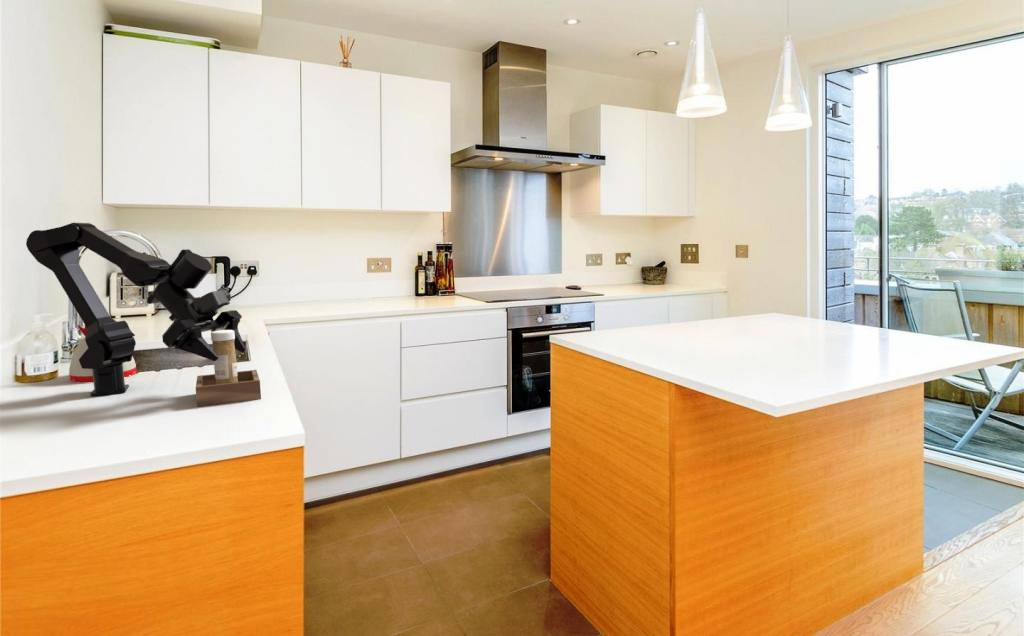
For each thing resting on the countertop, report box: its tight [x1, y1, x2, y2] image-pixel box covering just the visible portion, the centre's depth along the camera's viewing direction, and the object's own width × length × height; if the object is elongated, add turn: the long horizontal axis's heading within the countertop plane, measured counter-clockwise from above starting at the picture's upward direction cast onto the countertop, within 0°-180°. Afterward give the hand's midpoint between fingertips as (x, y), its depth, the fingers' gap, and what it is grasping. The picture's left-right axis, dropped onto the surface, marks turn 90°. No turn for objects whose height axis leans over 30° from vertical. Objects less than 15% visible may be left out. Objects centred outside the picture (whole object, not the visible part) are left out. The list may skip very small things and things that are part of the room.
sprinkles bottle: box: [210, 330, 238, 384], centre depth 124 cm, size 5×5×14 cm
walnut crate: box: [195, 369, 262, 408], centre depth 125 cm, size 12×12×4 cm
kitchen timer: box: [68, 323, 138, 383], centre depth 145 cm, size 14×14×15 cm
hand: (231, 355), depth 124 cm, fingers open, 9 cm apart
